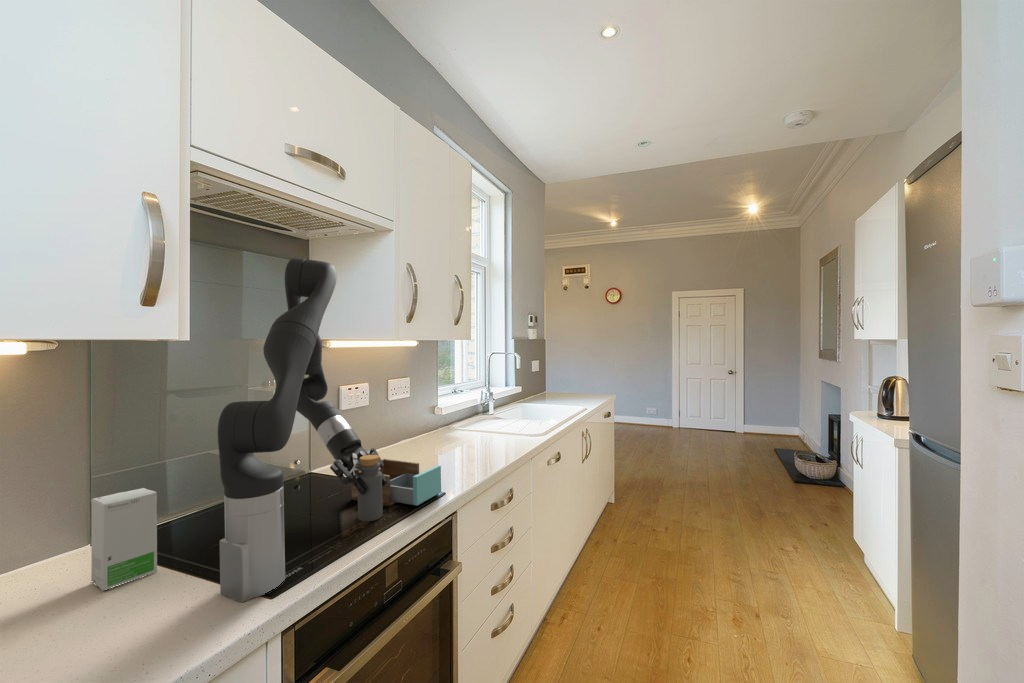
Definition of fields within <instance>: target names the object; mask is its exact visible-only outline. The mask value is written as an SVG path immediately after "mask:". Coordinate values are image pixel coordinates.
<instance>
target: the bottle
mask: <svg viewBox="0 0 1024 683" xmlns="http://www.w3.org/2000/svg"><path fill="white" fill-rule="evenodd" d="M378 455H379V454H378ZM378 455H365V456H362V457H360V458H359V459H360V463H361V464H360V465H359V470H361V473H360V474H359V476H360V477H359V478H362V480H363V481H364V482H365V484H366V485H367V487H368V488H369V491H368V492H367V493H366V494H365V495H362V494H360V493H359V492H358V501H357V516H358V517H357V518H358V520H359V521H360V520H361V522H373V521H376V520H379V519H381V518H382V517H383V513H384V511H383V507H384V505H383V503H382V473H381V472H379V471H378V468H380V463H379V462H378V461H379V457H380V455H379V456H378Z"/></svg>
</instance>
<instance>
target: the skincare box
mask: <svg viewBox="0 0 1024 683" xmlns="http://www.w3.org/2000/svg"><path fill="white" fill-rule="evenodd" d="M157 494H158V493H157V491H156V490H152V489H151V490H150V489H147V488H145V487H141V488H137V489H133V490H127V491H121V492H117V493H112V494H108V495H104V496H100V497H93V498H92V499H90V502H91V574H90V576H91V581H93V583H95V584H96V585H97V586H98V587H99V589H100V588H101V589H102V590H101V589H100V590H101V591H103V590H106V589H109V588H111V587H113V586H116V585H119V584H122V583H125V582H128V581H131V580H134V579H137V578H140V577H142V576H145V575H148V576H150V575H149V574H151V575H154V574H157V572H158V537H157V536H158V524H157V523H158V519H157V518H158V511H157V510H158V509H157V508H158V506H157V505H158V504H157V503H158V502H157V500H158V495H157ZM153 573H154V574H153ZM145 577H146V576H145ZM142 578H143V577H142ZM140 579H141V578H140ZM137 580H138V579H137ZM134 581H135V580H134ZM131 582H132V581H131ZM93 583H92V584H93ZM96 585H95V586H96ZM97 586H96V587H97ZM98 587H97V588H98ZM109 590H110V589H109Z"/></svg>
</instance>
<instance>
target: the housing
mask: <svg viewBox="0 0 1024 683" xmlns="http://www.w3.org/2000/svg"><path fill="white" fill-rule="evenodd" d="M381 460H382V462H383V464H384V466H383V467H382V468H381V469H380V470H381V472H382V474H383V475H384V476H385V478H386V480H387V483H386V484H385V485H384V486H383V487H382V503H383V507H384V506H385V507H390V506H392V505H394V504H397V502H394V501H391V494H390V480H392V479H394V478H396V477H398V476H401V475H403V474H405V473H409V474H420V462H414V461H413V462H412V461H406V460H405V461H404V460H397V459H389V458H388V459H387V458H382V459H381ZM358 471H359V474H360V473H361V470H358ZM351 500H352V501H357V502H358V490H357V489H356V487H355V486H354V485H353V484H351Z"/></svg>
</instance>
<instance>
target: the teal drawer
mask: <svg viewBox="0 0 1024 683" xmlns="http://www.w3.org/2000/svg"><path fill="white" fill-rule="evenodd" d="M441 468H442V465H434V466H432V467H431V468H429V469H426V470H424V471H422V472H419V474H409V473H405V474H403V475H401V476H398V477H396V478H394V479H392V480H390V494H391V501H394V502H396V503H399V504H400V503H401V504H405V505H412V506H419V505H421V504H423V503H424V502H426V501H428V500H430V499H432V498H433V497H435V496H437V495H438V494H440V493H442V469H441Z"/></svg>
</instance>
